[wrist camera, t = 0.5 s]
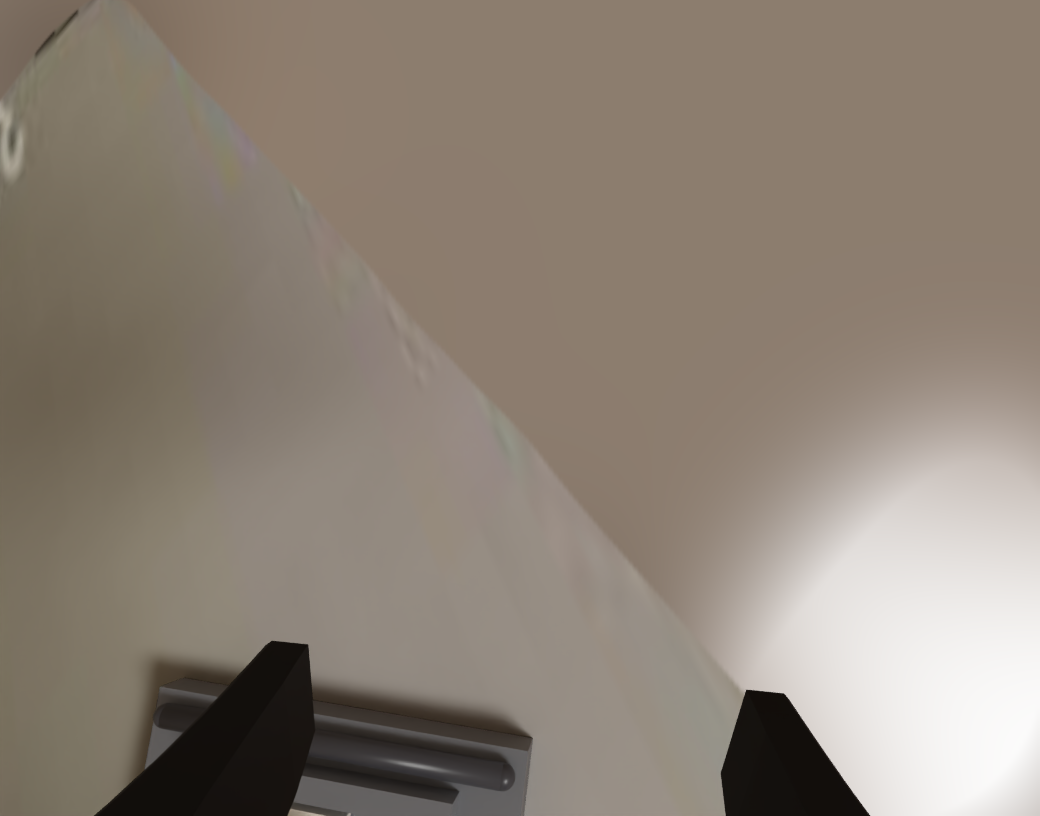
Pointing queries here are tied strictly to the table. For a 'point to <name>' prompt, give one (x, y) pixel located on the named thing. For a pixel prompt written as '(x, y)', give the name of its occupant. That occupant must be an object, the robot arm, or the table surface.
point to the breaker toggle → (313, 811)
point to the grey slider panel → (380, 759)
